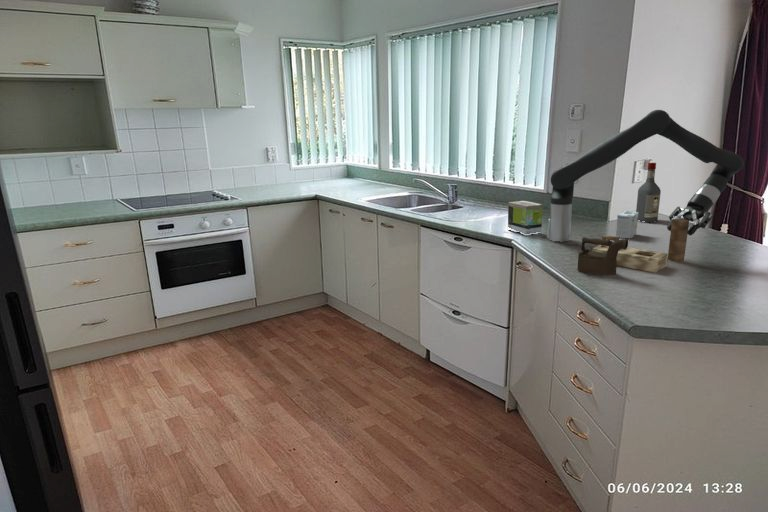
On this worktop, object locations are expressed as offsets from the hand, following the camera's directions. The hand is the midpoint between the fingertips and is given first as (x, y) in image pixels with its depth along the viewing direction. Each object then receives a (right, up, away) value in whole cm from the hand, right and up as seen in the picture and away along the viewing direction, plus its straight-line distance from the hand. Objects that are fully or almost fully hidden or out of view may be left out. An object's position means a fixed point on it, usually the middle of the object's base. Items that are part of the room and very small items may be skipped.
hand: (678, 231), depth 190 cm
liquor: (+24, +9, +70) cm, 74 cm away
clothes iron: (-33, -15, -5) cm, 37 cm away
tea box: (-43, +2, +58) cm, 72 cm away
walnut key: (+1, -11, +3) cm, 11 cm away
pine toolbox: (-18, -12, +2) cm, 22 cm away
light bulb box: (0, 0, +42) cm, 42 cm away
